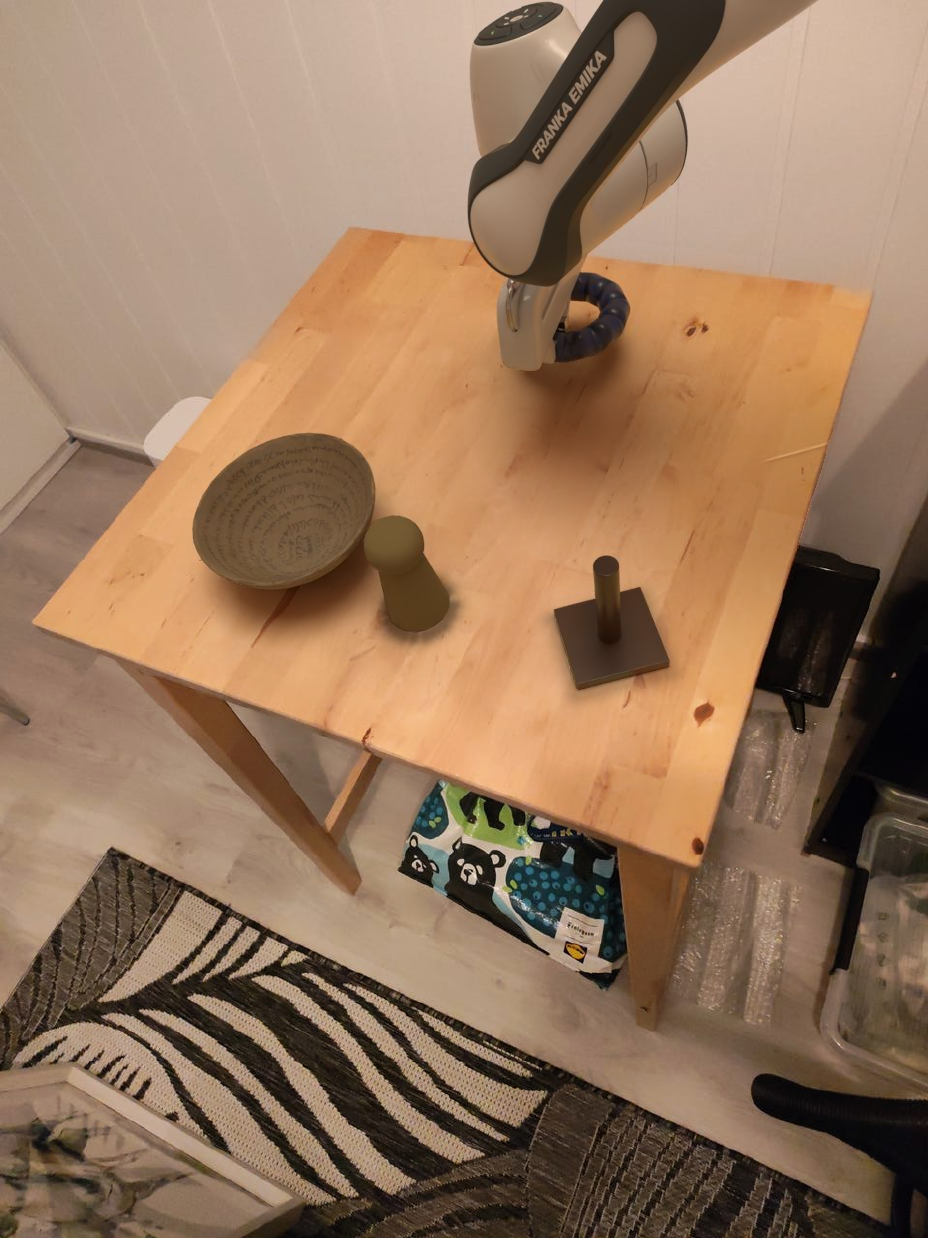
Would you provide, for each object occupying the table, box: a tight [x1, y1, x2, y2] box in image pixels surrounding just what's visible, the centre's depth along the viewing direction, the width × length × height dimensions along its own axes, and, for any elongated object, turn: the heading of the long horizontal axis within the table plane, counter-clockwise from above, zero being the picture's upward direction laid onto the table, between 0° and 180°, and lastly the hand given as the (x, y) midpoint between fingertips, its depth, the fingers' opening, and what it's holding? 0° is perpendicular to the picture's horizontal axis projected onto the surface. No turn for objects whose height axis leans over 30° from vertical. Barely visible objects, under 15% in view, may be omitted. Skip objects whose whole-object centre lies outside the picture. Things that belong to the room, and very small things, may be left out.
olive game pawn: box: [363, 515, 450, 633], centre depth 72 cm, size 6×6×11 cm
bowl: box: [191, 432, 376, 590], centre depth 79 cm, size 18×18×8 cm
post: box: [553, 555, 671, 691], centre depth 66 cm, size 8×8×11 cm
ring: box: [553, 271, 631, 364], centre depth 87 cm, size 13×13×3 cm
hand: (554, 344), depth 84 cm, fingers closed on ring, 3 cm apart
